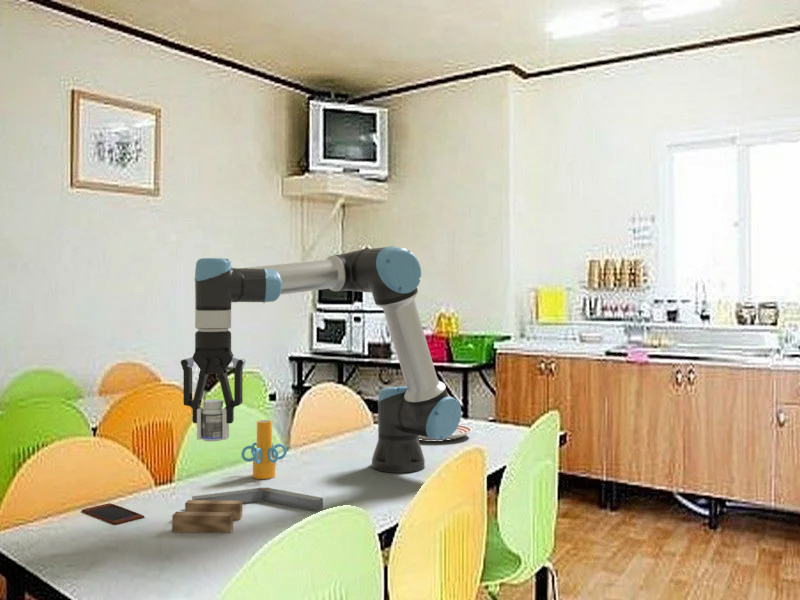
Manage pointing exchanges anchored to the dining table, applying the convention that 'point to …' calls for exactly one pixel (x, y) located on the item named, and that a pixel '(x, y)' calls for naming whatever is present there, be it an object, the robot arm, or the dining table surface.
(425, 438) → the dinner plate
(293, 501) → the v block
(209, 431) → the pill bottle
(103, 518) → the smartphone
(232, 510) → the wooden blocks
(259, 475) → the cylinder
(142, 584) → the dining table surface
